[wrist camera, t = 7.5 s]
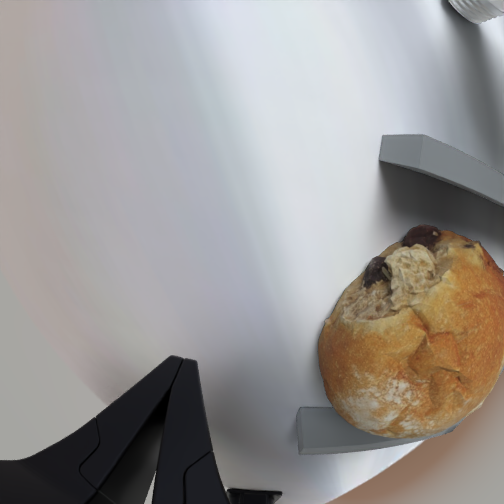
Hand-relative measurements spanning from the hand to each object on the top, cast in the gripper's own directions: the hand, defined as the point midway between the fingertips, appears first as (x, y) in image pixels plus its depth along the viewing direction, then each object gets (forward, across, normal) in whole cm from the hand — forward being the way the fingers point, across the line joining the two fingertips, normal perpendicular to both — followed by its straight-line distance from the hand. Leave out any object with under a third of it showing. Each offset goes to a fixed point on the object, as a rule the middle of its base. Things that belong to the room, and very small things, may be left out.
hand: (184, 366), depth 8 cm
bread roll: (+4, -10, 0) cm, 11 cm away
